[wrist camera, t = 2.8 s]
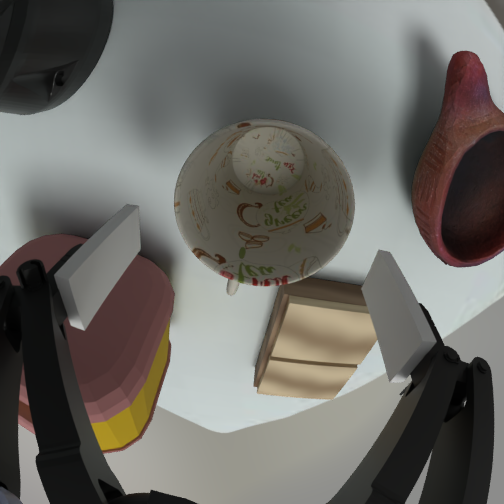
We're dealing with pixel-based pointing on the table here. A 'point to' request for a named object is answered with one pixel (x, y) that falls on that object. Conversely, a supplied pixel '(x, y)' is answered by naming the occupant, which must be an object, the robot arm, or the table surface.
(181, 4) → the table surface
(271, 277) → the mug
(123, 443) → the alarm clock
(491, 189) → the bowl
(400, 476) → the robot arm
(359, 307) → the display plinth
